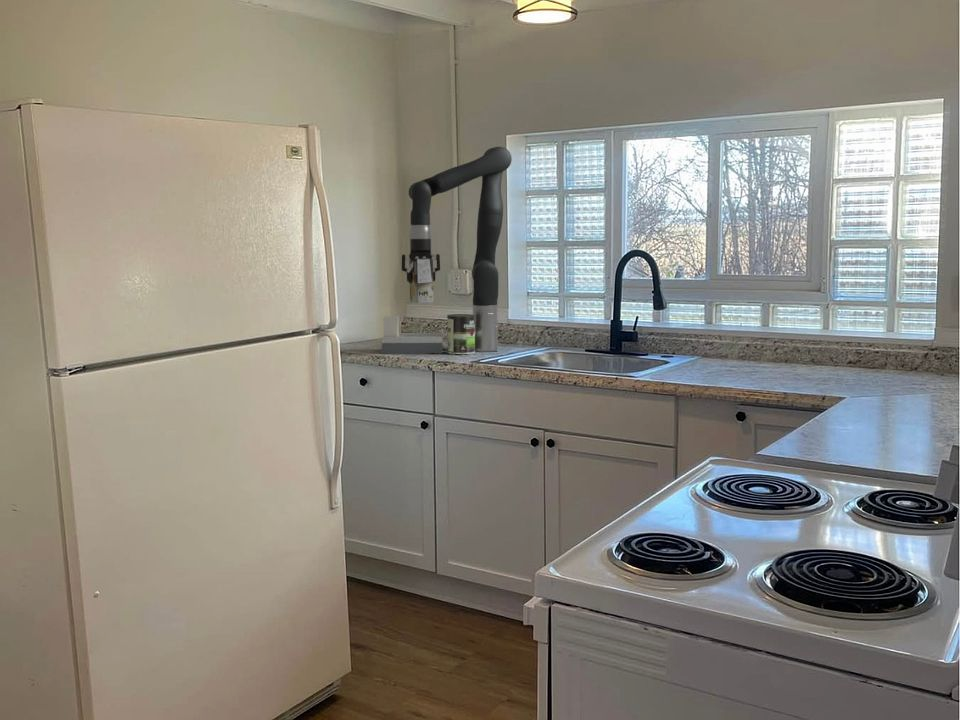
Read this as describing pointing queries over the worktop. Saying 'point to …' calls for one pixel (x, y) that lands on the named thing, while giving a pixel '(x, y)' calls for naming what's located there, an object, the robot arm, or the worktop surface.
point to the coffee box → (421, 281)
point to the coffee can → (461, 334)
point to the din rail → (415, 338)
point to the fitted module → (391, 326)
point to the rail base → (412, 348)
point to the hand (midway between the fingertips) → (421, 282)
